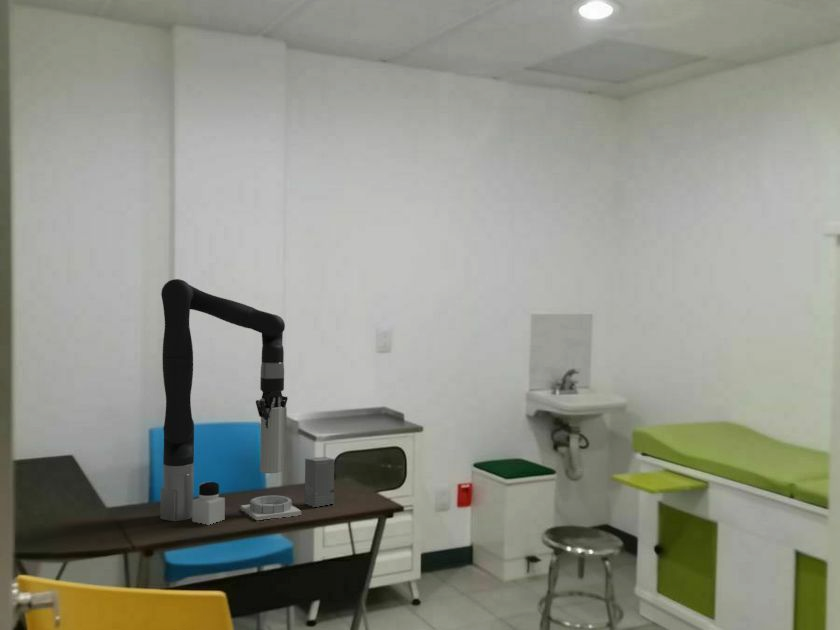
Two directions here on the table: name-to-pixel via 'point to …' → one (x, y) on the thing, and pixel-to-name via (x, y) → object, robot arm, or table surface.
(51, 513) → the table surface
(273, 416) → the paper towel roll
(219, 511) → the medicine bottle
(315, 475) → the skincare box
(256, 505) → the collar socket
